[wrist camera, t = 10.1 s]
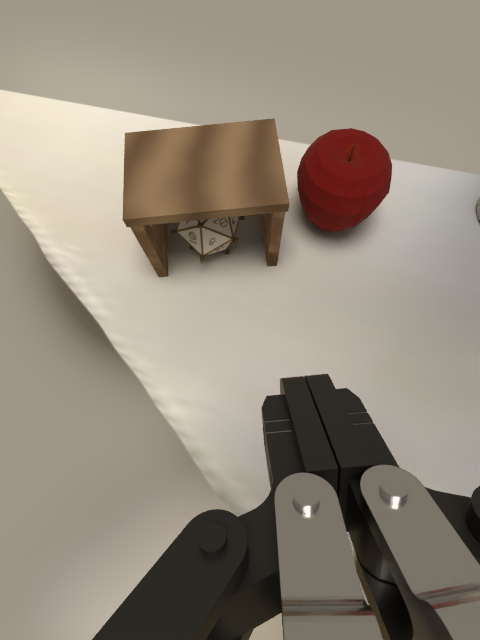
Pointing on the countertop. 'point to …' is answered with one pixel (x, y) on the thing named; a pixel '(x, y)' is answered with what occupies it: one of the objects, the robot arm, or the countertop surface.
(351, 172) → the apple
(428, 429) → the countertop surface
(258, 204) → the tunnel
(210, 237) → the game die
